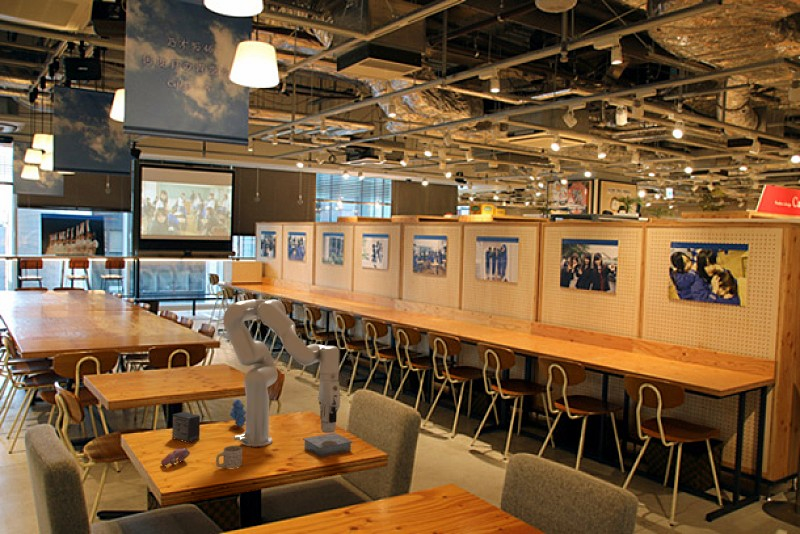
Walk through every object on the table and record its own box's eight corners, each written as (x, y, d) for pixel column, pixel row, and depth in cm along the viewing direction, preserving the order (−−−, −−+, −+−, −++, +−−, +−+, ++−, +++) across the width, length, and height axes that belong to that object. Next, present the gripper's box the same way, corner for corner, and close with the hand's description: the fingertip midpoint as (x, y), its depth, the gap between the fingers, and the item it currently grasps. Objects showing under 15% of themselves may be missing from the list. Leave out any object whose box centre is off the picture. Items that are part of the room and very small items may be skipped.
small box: (200, 439, 269) (201, 415, 269) (188, 443, 264) (188, 418, 263) (184, 435, 275) (184, 411, 274) (171, 438, 269) (171, 414, 269)
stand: (320, 457, 250) (320, 447, 250) (302, 448, 261) (303, 438, 261) (352, 451, 259) (352, 441, 259) (334, 442, 270) (334, 432, 270)
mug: (236, 461, 244) (236, 444, 244) (244, 466, 239) (245, 449, 239) (211, 467, 237) (212, 449, 237) (220, 472, 232) (220, 454, 232)
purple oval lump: (166, 472, 235) (172, 457, 234) (159, 464, 237) (164, 449, 236) (187, 464, 244) (193, 449, 242) (180, 457, 246) (186, 442, 244)
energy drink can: (318, 430, 261) (318, 394, 260) (330, 428, 264) (331, 392, 264) (325, 434, 256) (326, 397, 255) (338, 431, 260) (339, 395, 259)
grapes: (224, 424, 292) (224, 398, 291) (238, 422, 296) (238, 396, 295) (234, 430, 283) (235, 404, 282) (249, 428, 287) (249, 402, 286)
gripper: (348, 379, 255) (347, 424, 255) (326, 371, 268) (325, 414, 269) (332, 381, 250) (331, 427, 251) (310, 373, 264) (309, 416, 264)
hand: (328, 420), depth 260 cm, fingers closed on energy drink can, 6 cm apart
